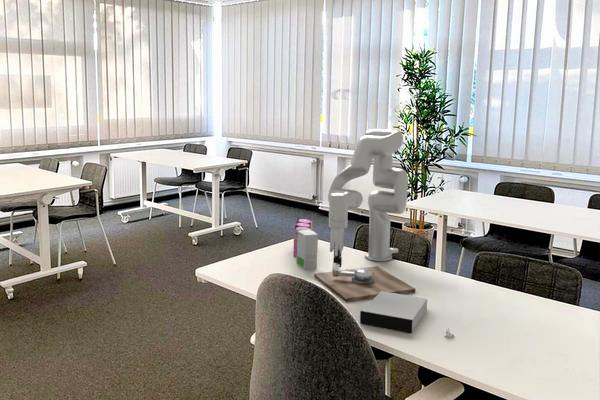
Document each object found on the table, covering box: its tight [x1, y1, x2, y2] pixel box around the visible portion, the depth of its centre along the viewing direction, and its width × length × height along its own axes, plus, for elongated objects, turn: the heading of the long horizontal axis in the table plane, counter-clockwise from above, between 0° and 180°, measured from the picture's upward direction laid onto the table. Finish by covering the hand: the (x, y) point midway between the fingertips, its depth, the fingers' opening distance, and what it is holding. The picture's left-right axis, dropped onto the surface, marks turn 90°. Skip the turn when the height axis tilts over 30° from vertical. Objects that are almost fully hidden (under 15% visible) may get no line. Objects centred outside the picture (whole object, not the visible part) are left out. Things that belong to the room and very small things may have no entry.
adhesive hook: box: [444, 327, 455, 338], centre depth 184 cm, size 3×3×3 cm
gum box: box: [292, 217, 313, 258], centre depth 277 cm, size 24×8×14 cm, turn 176°
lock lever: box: [331, 262, 372, 281], centre depth 231 cm, size 16×9×5 cm, turn 81°
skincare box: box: [296, 229, 319, 270], centre depth 253 cm, size 8×7×16 cm
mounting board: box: [313, 265, 416, 303], centre depth 231 cm, size 30×30×2 cm
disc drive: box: [359, 291, 428, 335], centre depth 199 cm, size 18×22×5 cm
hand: (337, 266), depth 235 cm, fingers closed
